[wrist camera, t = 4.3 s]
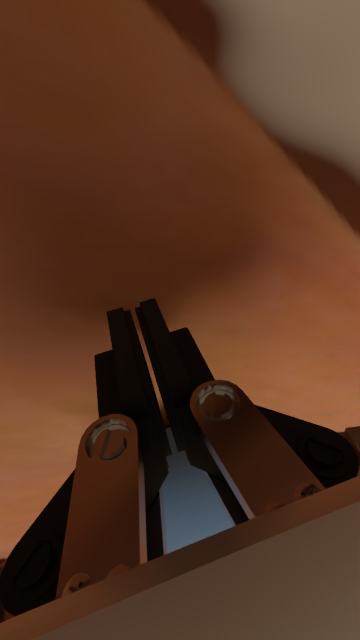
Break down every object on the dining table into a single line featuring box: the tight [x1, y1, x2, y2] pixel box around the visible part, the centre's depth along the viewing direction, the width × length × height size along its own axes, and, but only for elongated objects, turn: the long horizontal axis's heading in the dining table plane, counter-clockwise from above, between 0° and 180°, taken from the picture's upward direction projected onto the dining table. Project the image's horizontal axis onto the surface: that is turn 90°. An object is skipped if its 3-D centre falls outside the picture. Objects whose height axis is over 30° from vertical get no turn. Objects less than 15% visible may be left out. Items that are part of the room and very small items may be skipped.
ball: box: [161, 427, 233, 554], centre depth 15 cm, size 6×6×6 cm
